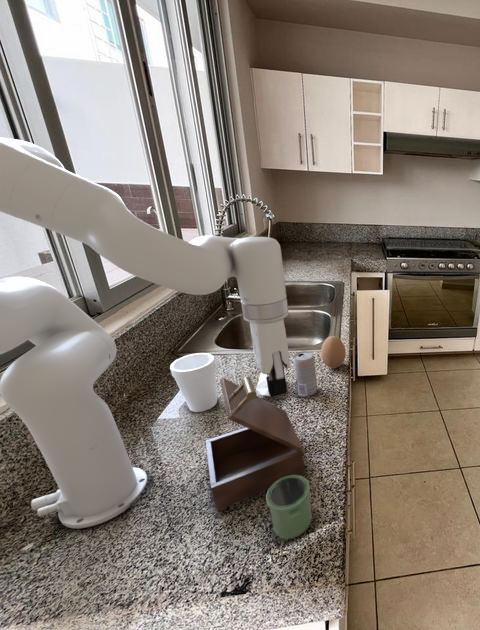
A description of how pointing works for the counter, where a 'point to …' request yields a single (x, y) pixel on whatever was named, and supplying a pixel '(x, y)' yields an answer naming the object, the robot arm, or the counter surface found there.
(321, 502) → the counter surface
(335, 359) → the egg
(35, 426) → the robot arm
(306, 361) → the energy drink
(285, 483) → the pot
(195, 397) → the foam cup
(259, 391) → the roll
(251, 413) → the lid
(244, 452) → the chest
